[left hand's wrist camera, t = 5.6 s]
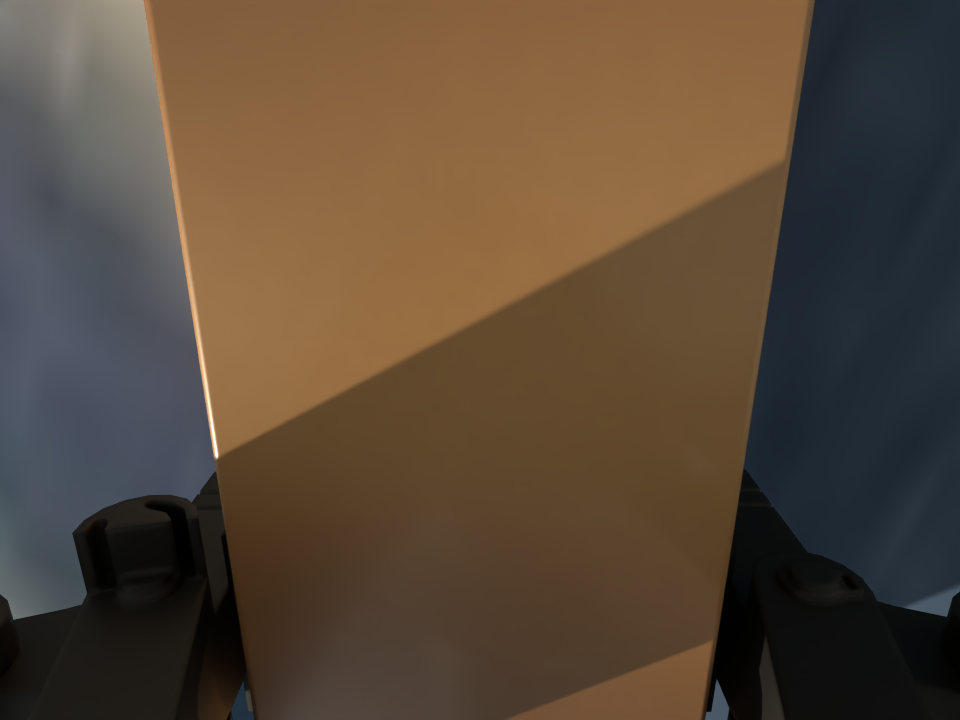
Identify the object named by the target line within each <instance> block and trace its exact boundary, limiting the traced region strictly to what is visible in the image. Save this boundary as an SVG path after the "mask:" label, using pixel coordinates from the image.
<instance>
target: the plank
mask: <svg viewBox="0 0 960 720" xmlns="http://www.w3.org/2000/svg"><path fill="white" fill-rule="evenodd" d="M144 4H145V10H146V17H147V23H148V30H149V37H150V43H151V50H152V56H153V63H154V69H155V76H156V82H157V89H158V95H159V102H160V108H161V115H162V121H163V128H164V134H165V141H166V147H167V154H168V160H169V167H170V173H171V180H172V186H173V193H174V199H175V206H176V212H177V219H178V225H179V232H180V238H181V245H182V251H183V258H184V264H185V271H186V277H187V284H188V290H189V297H190V303H191V310H192V316H193V323H194V329H195V336H196V342H197V349H198V355H199V362H200V368H201V375H202V381H203V388H204V394H205V401H206V407H207V414H208V420H209V427H210V433H211V440H212V446H213V453H214V459H215V466H216V472H217V479H218V485H219V492H220V498H221V505H222V511H223V518H224V524H225V531H226V537H227V544H228V550H229V557H230V563H231V570H232V576H233V583H234V589H235V596H236V602H237V609H238V615H239V622H240V628H241V635H242V641H243V648H244V654H245V661H246V667H247V674H248V680H249V687H250V694H251V700H252V707H253V713H254V720H705V716H706V709H707V703H708V696H709V690H710V683H711V677H712V670H713V663H714V657H715V650H716V644H717V637H718V631H719V624H720V618H721V611H722V605H723V598H724V592H725V585H726V579H727V572H728V566H729V559H730V552H731V546H732V539H733V533H734V526H735V520H736V513H737V507H738V500H739V494H740V487H741V481H742V474H743V468H744V461H745V454H746V448H747V441H748V435H749V428H750V422H751V415H752V409H753V402H754V396H755V389H756V383H757V376H758V370H759V363H760V356H761V350H762V343H763V337H764V330H765V324H766V317H767V311H768V304H769V298H770V291H771V285H772V278H773V272H774V265H775V259H776V252H777V245H778V239H779V232H780V226H781V219H782V213H783V206H784V200H785V193H786V187H787V180H788V174H789V167H790V161H791V154H792V147H793V141H794V134H795V128H796V121H797V115H798V108H799V102H800V95H801V89H802V82H803V76H804V69H805V63H806V56H807V49H808V43H809V36H810V30H811V23H812V17H813V10H814V4H815V0H144Z"/></svg>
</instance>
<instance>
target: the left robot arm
mask: <svg viewBox="0 0 960 720" xmlns="http://www.w3.org/2000/svg"><path fill="white" fill-rule="evenodd" d="M73 537H74V542H75V546H76V550H77V554H78V558H79V562H80V566H81V570H82V574H83V578H84V582H85V586H86V590H87V595H86V597H85V599H84V601H83V604H82V605H79V606H75V607H71V608H68V609H63V610H59V611H54V612H49V613H44V614H40V615H35V616H30V617H25V618H20V619H16V620H13V617H12V614H11V610H10V607H9V604H8V601H7V600H6V599H5V598H4V597H3V596H2V595H0V720H233V719H232V713H231V708H232V706H233V704H234V701H235V699H236V696H237V694H238V692H239V689H240V687H241V684H242V682H243V681H244V687H245V693H246V700H247V706H248V712H253V707H252V700H251V694H250V687H249V680H248V674H247V667H246V661H245V654H244V648H243V641H242V635H241V628H240V622H239V615H238V609H237V602H236V596H235V589H234V583H233V576H232V570H231V563H230V557H229V550H228V544H227V537H226V531H225V524H224V518H223V511H222V505H221V498H220V492H219V485H218V479H217V472H215V473H213V475H212V476H211V477H210V479H209V480H208V481H207V483H206V484H205V485H204V487H203V488H202V489H201V491H200V495H197V496H196V497H195V499H194V500H193V502H192V503H191V502H190V501H189V500H188V499H186V498H181V497H177V496H173V495H148V496H143V497H138V498H133V499H128V500H125V501H122V502H119V503H117V504H114V505H111V506H109V507H106V508H103V509H102V510H100V511H98V512H97V513H95V514H94V515H92V516H90V517H89V518H87V519H85V520H84V521H83V522H82V523H81V524H80V525H79V526H78V528H77V529H76V530H75V531H74V532H73ZM716 678H717V680H718V682H719V684H720V687H721V689H722V692H723V694H724V696H725V699H726V701H727V703H728V706H729V713H728V719H727V720H960V592H959V593H957V594H956V595H955V596H954V597H953V598H952V602H951V605H950V608H949V612H948V615H947V617H945V616H940V615H935V614H930V613H925V612H920V611H916V610H911V609H906V608H901V607H896V606H892V605H888V604H885V603H881V602H877V600H876V598H875V596H874V594H873V592H872V591H871V590H870V588H869V587H868V586H867V584H866V583H865V582H864V580H863V579H862V578H861V577H859V576H858V575H856V574H855V573H854V572H852V571H851V570H849V569H848V568H847V567H845V566H844V565H842V564H839V563H837V562H835V561H832V560H830V559H828V558H826V557H823V556H820V555H816V554H811V553H808V552H807V551H806V550H805V548H804V547H803V546H802V544H801V543H800V542H799V540H798V539H797V538H796V536H795V535H794V534H793V532H792V531H791V530H790V528H789V527H788V526H787V524H786V523H785V522H784V520H783V519H782V518H781V516H780V515H779V514H778V512H777V511H776V510H775V509H774V507H771V503H770V502H769V501H768V499H767V498H766V497H765V495H764V494H763V493H762V492H760V489H759V487H758V486H757V485H756V483H755V482H754V481H753V479H752V478H751V477H750V475H749V474H748V473H747V471H746V470H744V469H743V474H742V481H741V487H740V494H739V500H738V507H737V513H736V520H735V526H734V533H733V539H732V546H731V552H730V559H729V566H728V572H727V579H726V585H725V592H724V598H723V605H722V611H721V618H720V624H719V631H718V637H717V644H716V650H715V657H714V663H713V670H712V677H711V683H710V690H709V696H708V703H707V709H706V712H711V710H712V703H713V697H714V690H715V684H716Z"/></svg>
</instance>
